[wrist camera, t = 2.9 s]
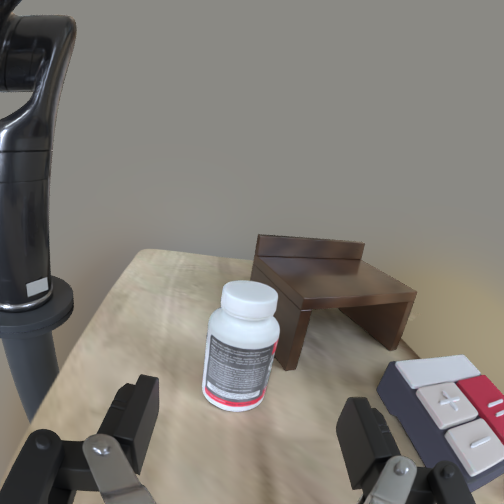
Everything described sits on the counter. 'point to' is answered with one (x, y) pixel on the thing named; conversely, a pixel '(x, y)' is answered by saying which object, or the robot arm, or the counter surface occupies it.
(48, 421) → the counter surface
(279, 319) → the spice shelf
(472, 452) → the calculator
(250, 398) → the pill bottle
